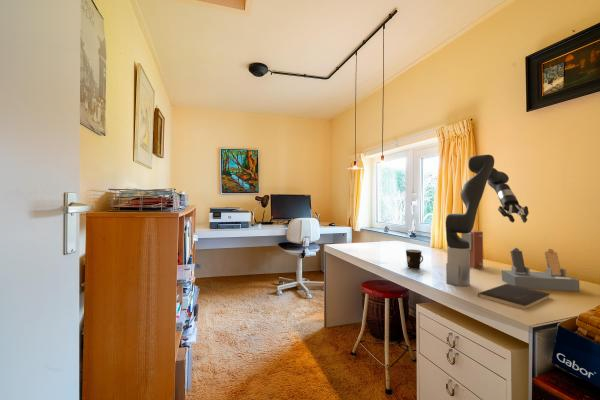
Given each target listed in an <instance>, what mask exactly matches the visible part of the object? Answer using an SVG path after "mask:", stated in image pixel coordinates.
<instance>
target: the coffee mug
mask: <svg viewBox="0 0 600 400" xmlns="http://www.w3.org/2000/svg"><path fill="white" fill-rule="evenodd" d="M405 257H406V262H407V268H408V267H409V268H408V269H411V268H413V269H412V270H420V268H421V264H422V262H423V261H424V256H423V255H422V250H420V249H405Z"/></svg>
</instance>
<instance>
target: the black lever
mask: <svg viewBox="0 0 600 400" xmlns="http://www.w3.org/2000/svg"><path fill="white" fill-rule="evenodd" d="M509 253H510V257H511V262H512V266H514V267H516V268H517V273H526V270H525V267H526V266H525V261H524V256H523V255H524V254H523V251H522V250H520V249H519V248H518V247H514V248H512V250H510V252H509Z"/></svg>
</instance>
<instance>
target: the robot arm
mask: <svg viewBox="0 0 600 400" xmlns="http://www.w3.org/2000/svg"><path fill="white" fill-rule="evenodd" d="M467 164H468V165H467V166H468V169H469V172H471V173H474V174H475V175H474V176H472V177H470V178H469V179H468V180H466V181H465V183H464V184H463V186H462V188H461V191H460V198H461V200H462V202H463V204H464V205H465V208H466V211H465V213H452V212H451V213H449V214H447V215H446V218H445V233H446V234H445V239H446V243H447V244H446V247H447V248H446V249H447V253H446V258H447V259H446V260H447V262H446V265H445V267H446V269H445V270H446V272H445V274H446V277H445V279H446V283H447V284H450V285H454V286H457V287H467V286H470V284H471V280H470V279H471V276H470V275H471V274H470V273H471V272H470V271H471V269H470V268H471V267H470V244H469V242H468V241H466V240H464V239H462V238H461V237H460V236H459V235H458V233H459V234H461V233H470V232H471V231H472V230H474V226H475V221H476V218H477V214H478V209H479V206H480V202H481V200H482V197H483V195H484V192H485V188H486V185H487V184H488V186H490V188H492V189H493V190H494V191H495V192H496V194H497V199H498V200H499V202H500V204H501V205H499V206H498V208H497V210H498V212H499V213H500V214H501V215H502V217H504V218H505V217H507V218H508V220H509V222H511V223H515V218H514V216H513V214H516V215H517V216H520V219H521V221H522V222H523V224H524V223H526V222H527V221H528V218H527V217H528V215H529V214H530V212H529V207H528V206H527V205H525V206H522V205H520V204H519V201H518V198H517V197H516V195H515V194H514V192H513V190H512V189H511V187H510V185H508V184H507V183H508V182H509V176H508V174H507V173H505V172H503V171H500V170H498V169H497V168H495V167H494V166H495V158H494V156H493V155H491V154H479V155H473V156H471V157H470V158H469V159H468V162H467Z"/></svg>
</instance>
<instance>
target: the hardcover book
mask: <svg viewBox="0 0 600 400" xmlns="http://www.w3.org/2000/svg"><path fill="white" fill-rule="evenodd" d="M550 296H551V293H549V292H544V291H540V290H537V289H527V288H523V287H518V286H514V285H509V284H508V283H504V284H502V285H499V286H495V287H492V288H489V289H486V290H483V291H479V292H478V293H477V297H479V298H483V299H487V300H490V301H494V302H497V303H500V304H505V305H507V306H511V307H516V308H518V309H523V310H526V309H529V308H531V307H532V306H535V305H537V304H539V303H540V302H543V301H545V300H547V299H549V298H550Z"/></svg>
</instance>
